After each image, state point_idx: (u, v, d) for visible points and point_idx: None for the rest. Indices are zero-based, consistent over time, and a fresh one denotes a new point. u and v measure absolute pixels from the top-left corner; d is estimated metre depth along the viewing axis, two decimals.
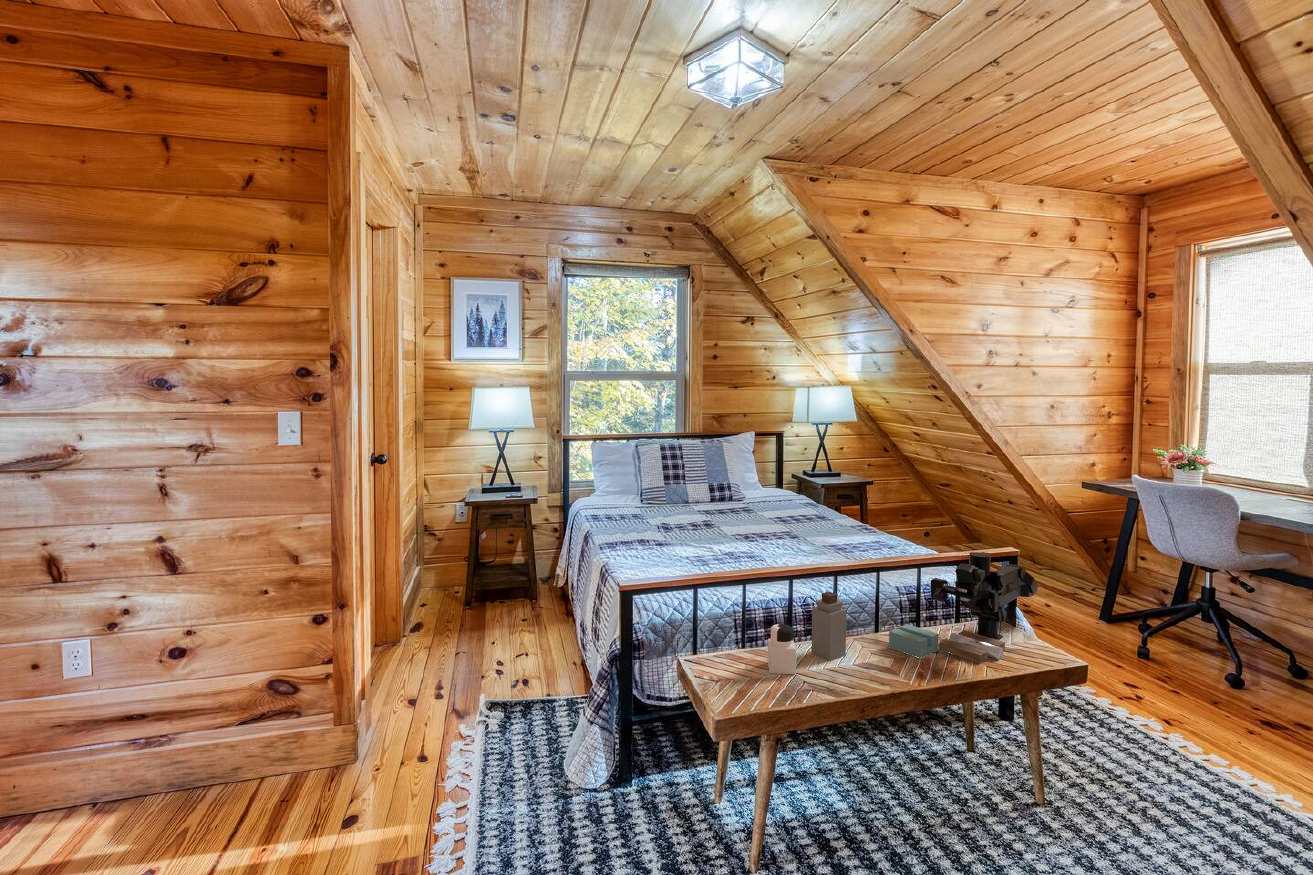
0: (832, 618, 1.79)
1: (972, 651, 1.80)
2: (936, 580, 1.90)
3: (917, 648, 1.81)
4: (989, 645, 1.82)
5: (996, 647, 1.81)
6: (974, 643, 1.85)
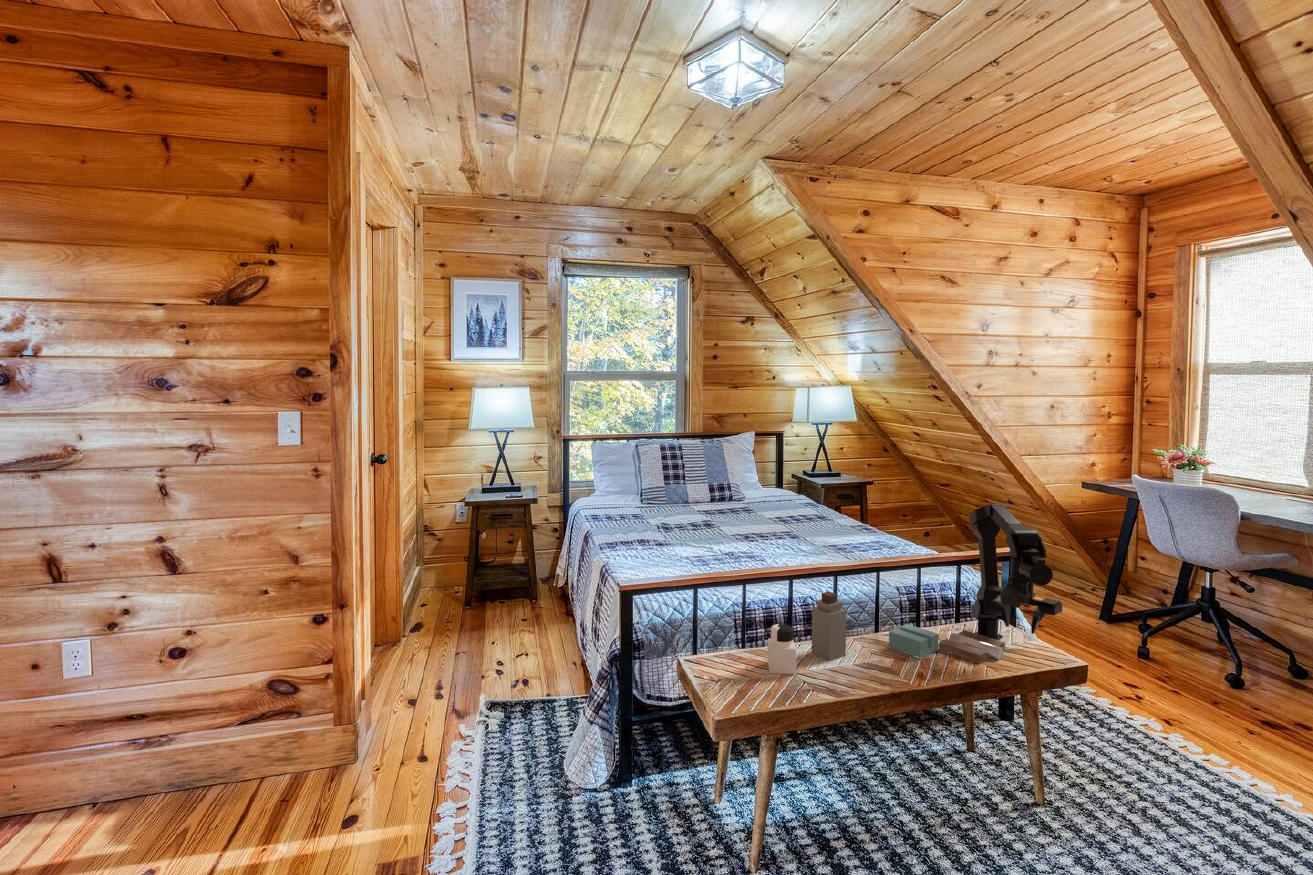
0: (832, 618, 1.79)
1: (972, 651, 1.80)
2: (988, 599, 1.79)
3: (917, 648, 1.81)
4: (989, 645, 1.82)
5: (996, 647, 1.81)
6: (975, 643, 1.85)
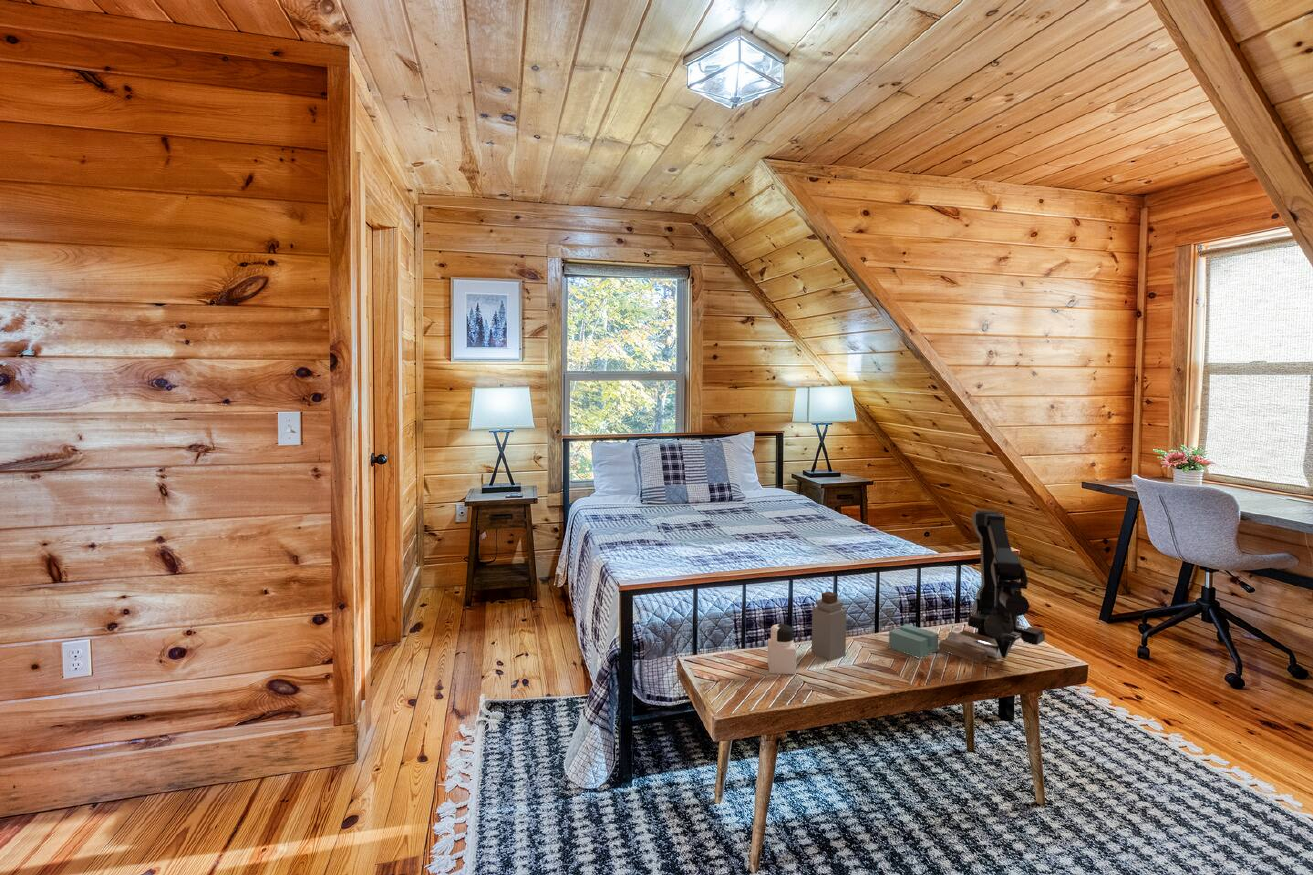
0: (832, 618, 1.79)
1: (972, 651, 1.80)
2: None
3: (917, 648, 1.81)
4: (987, 644, 1.82)
5: (994, 646, 1.81)
6: (972, 641, 1.85)
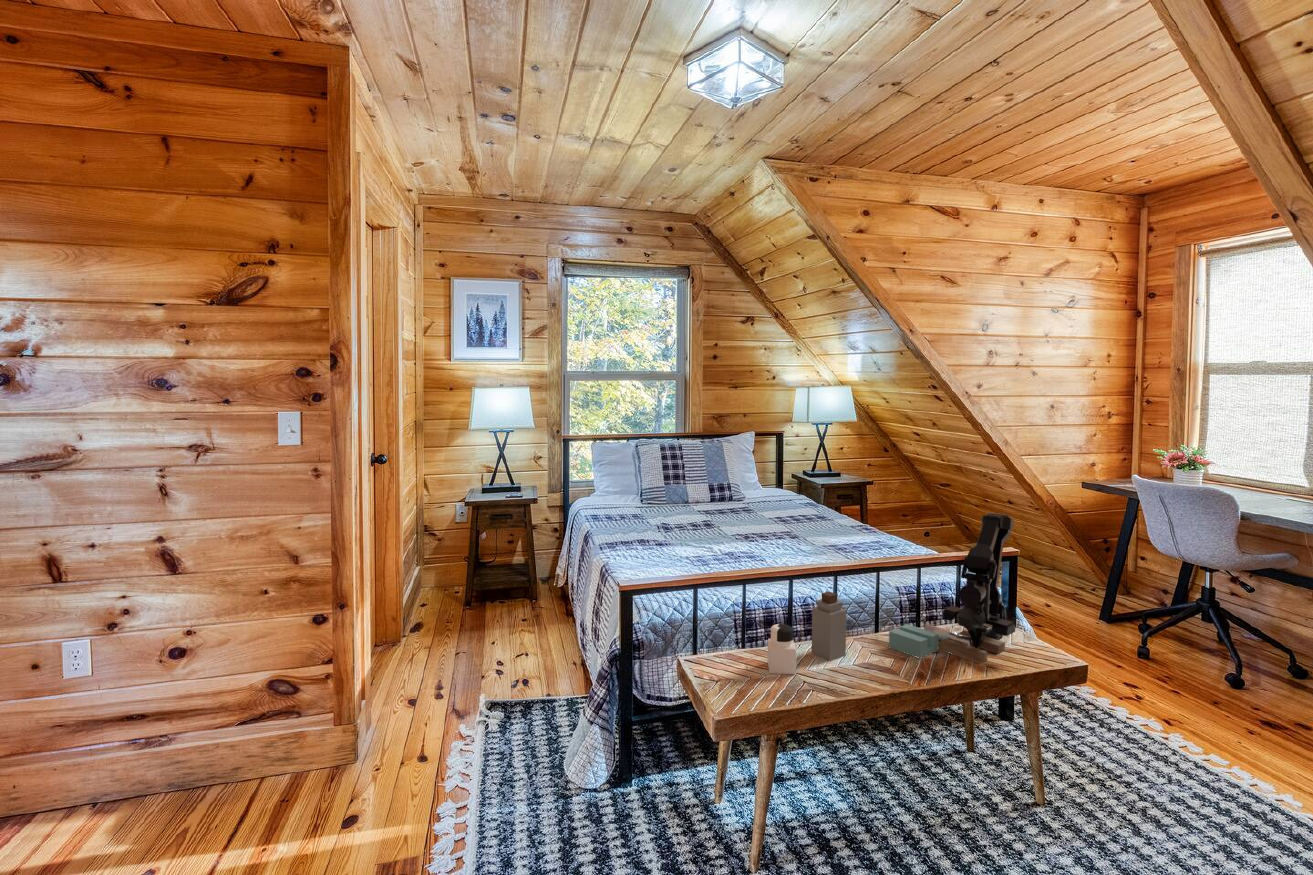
0: (832, 618, 1.79)
1: (972, 651, 1.80)
2: (947, 619, 1.89)
3: (917, 648, 1.81)
4: (960, 636, 1.88)
5: (967, 637, 1.87)
6: (947, 633, 1.91)
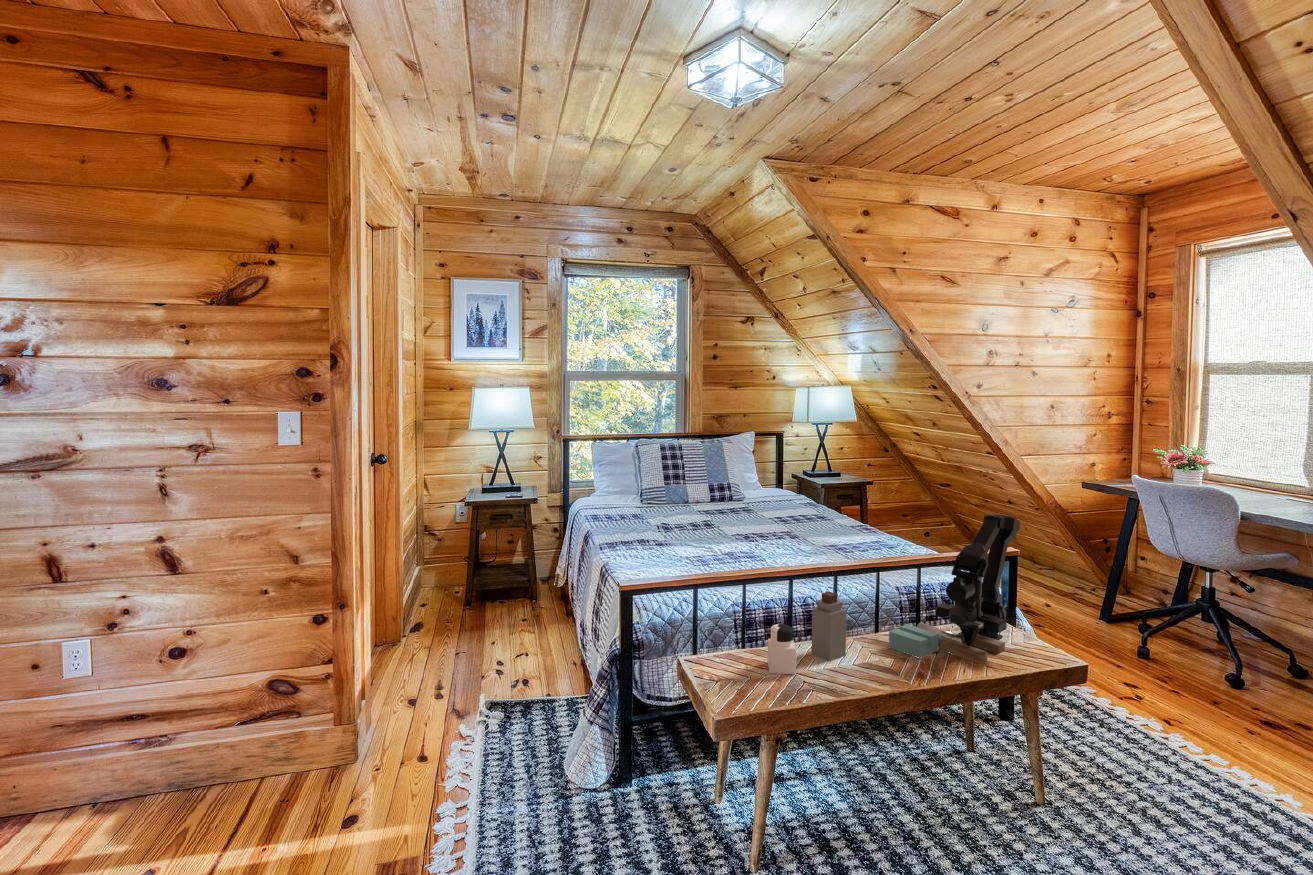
0: (832, 618, 1.79)
1: (972, 651, 1.80)
2: (939, 616, 1.91)
3: (917, 648, 1.81)
4: (953, 635, 1.90)
5: (959, 636, 1.89)
6: (939, 632, 1.93)
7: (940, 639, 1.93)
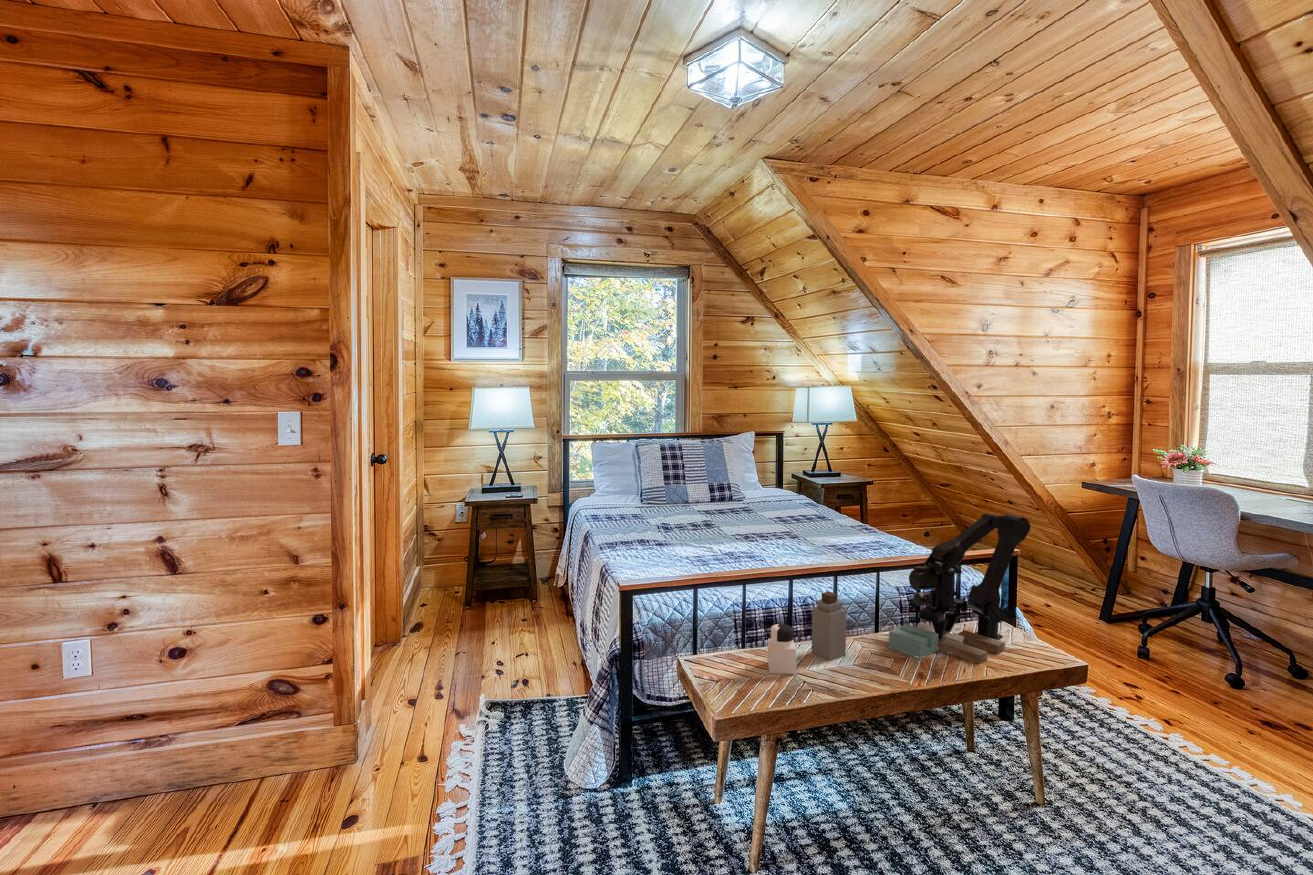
0: (832, 618, 1.79)
1: (972, 651, 1.80)
2: None
3: (917, 648, 1.81)
4: (953, 634, 1.90)
5: (959, 635, 1.89)
6: None
7: None
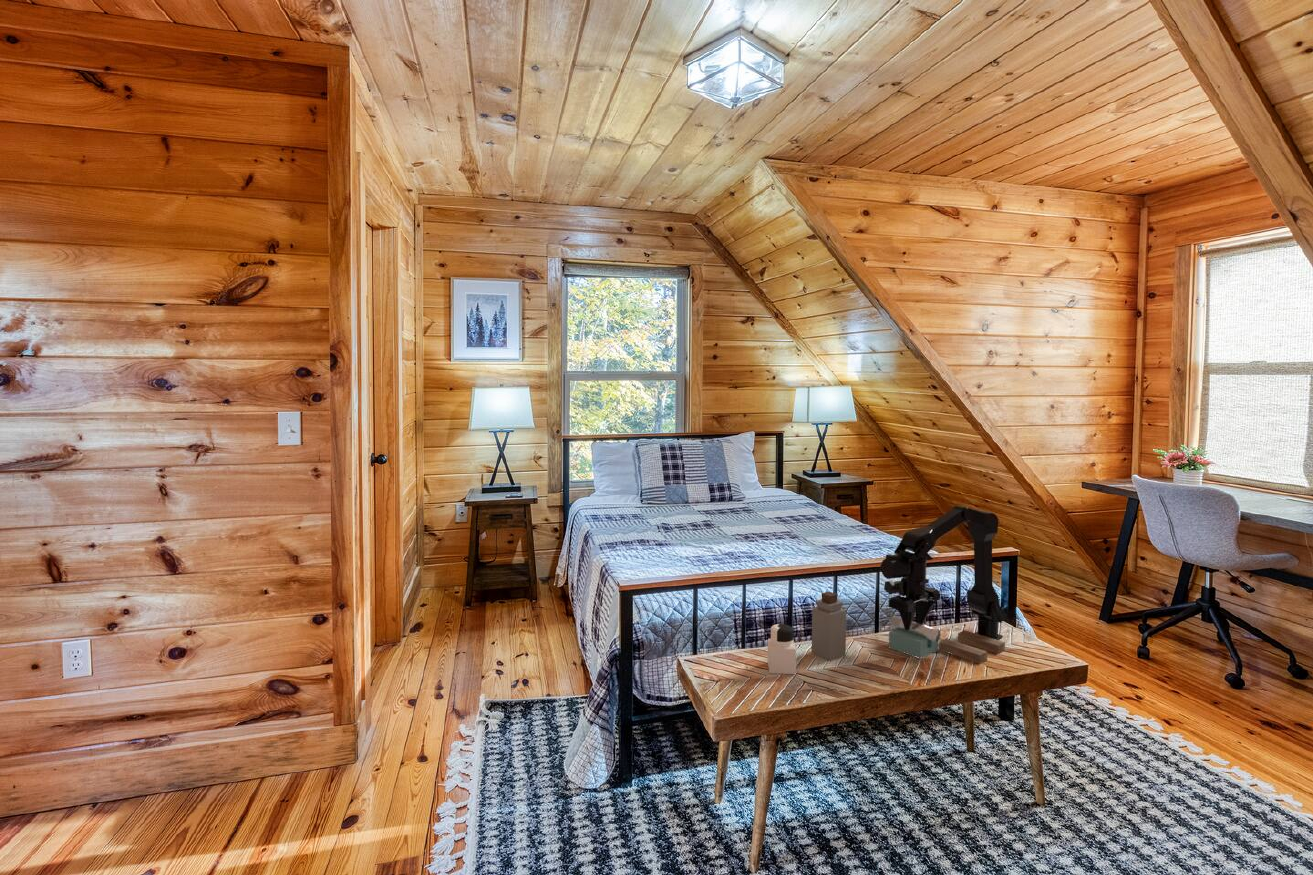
0: (832, 618, 1.79)
1: (972, 651, 1.80)
2: None
3: (917, 648, 1.81)
4: (926, 628, 1.83)
5: (933, 629, 1.82)
6: (913, 625, 1.86)
7: (914, 632, 1.85)
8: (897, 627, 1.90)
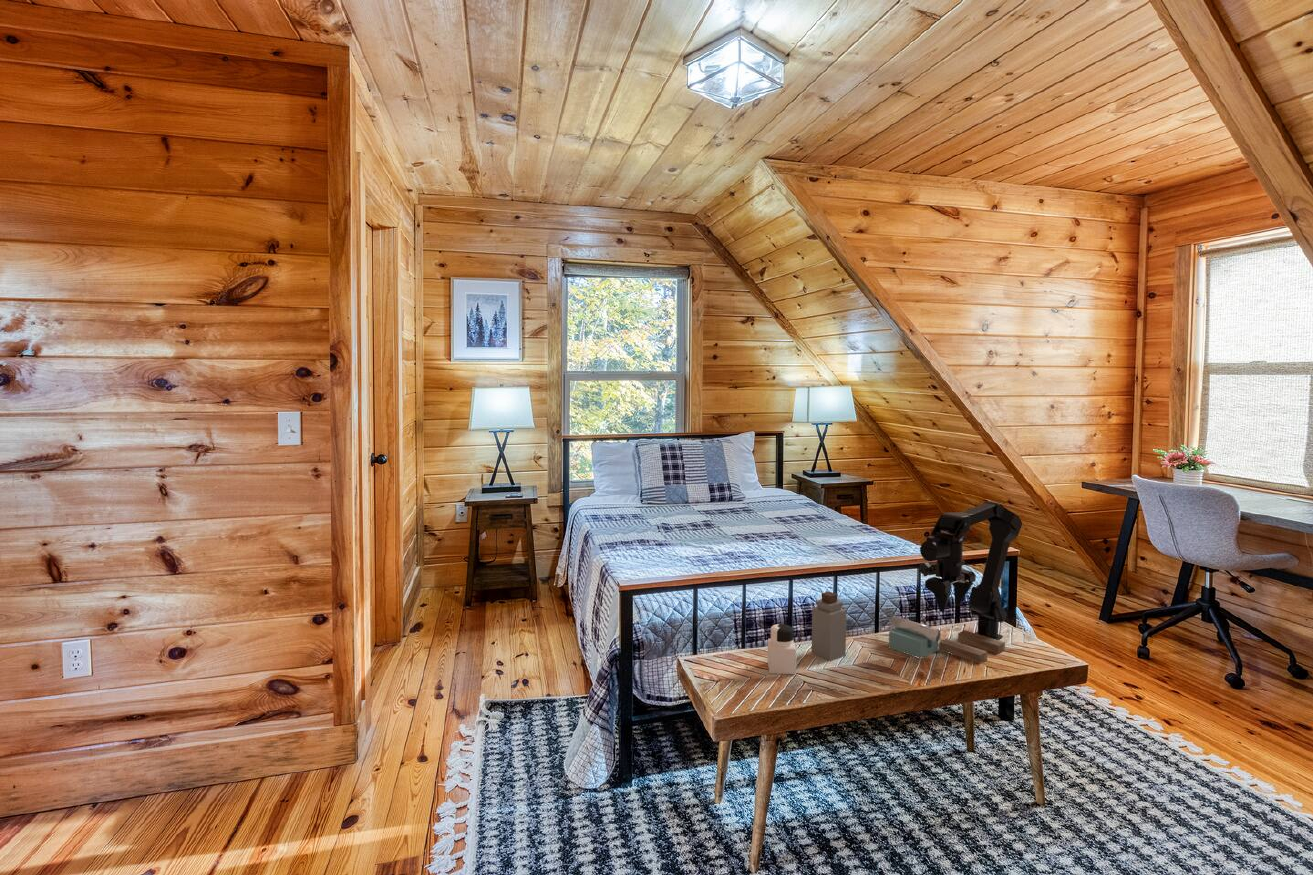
0: (832, 618, 1.79)
1: (972, 651, 1.80)
2: None
3: (917, 648, 1.81)
4: (927, 627, 1.83)
5: (933, 629, 1.82)
6: (913, 625, 1.86)
7: (914, 632, 1.85)
8: (897, 627, 1.90)
